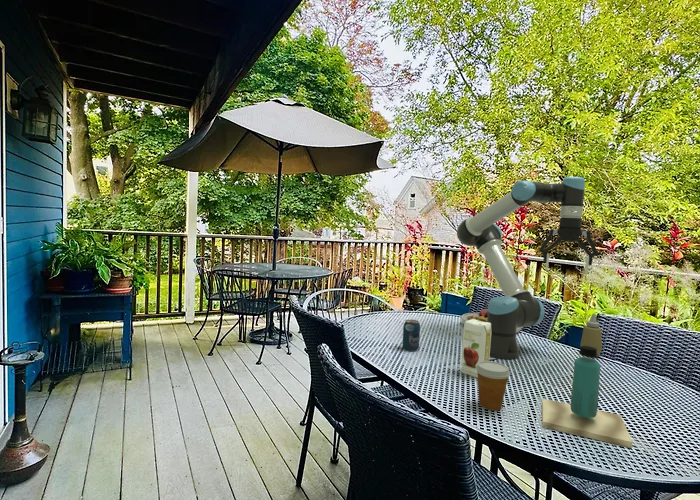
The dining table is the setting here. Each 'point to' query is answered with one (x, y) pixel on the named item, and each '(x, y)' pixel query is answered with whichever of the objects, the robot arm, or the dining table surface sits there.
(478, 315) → the bowl
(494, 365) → the disposable coffee cup
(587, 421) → the birch board
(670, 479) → the dining table surface
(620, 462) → the dining table surface
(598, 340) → the squeeze bottle
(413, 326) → the soda can
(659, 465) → the dining table surface
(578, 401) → the beverage bottle
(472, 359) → the juice carton
